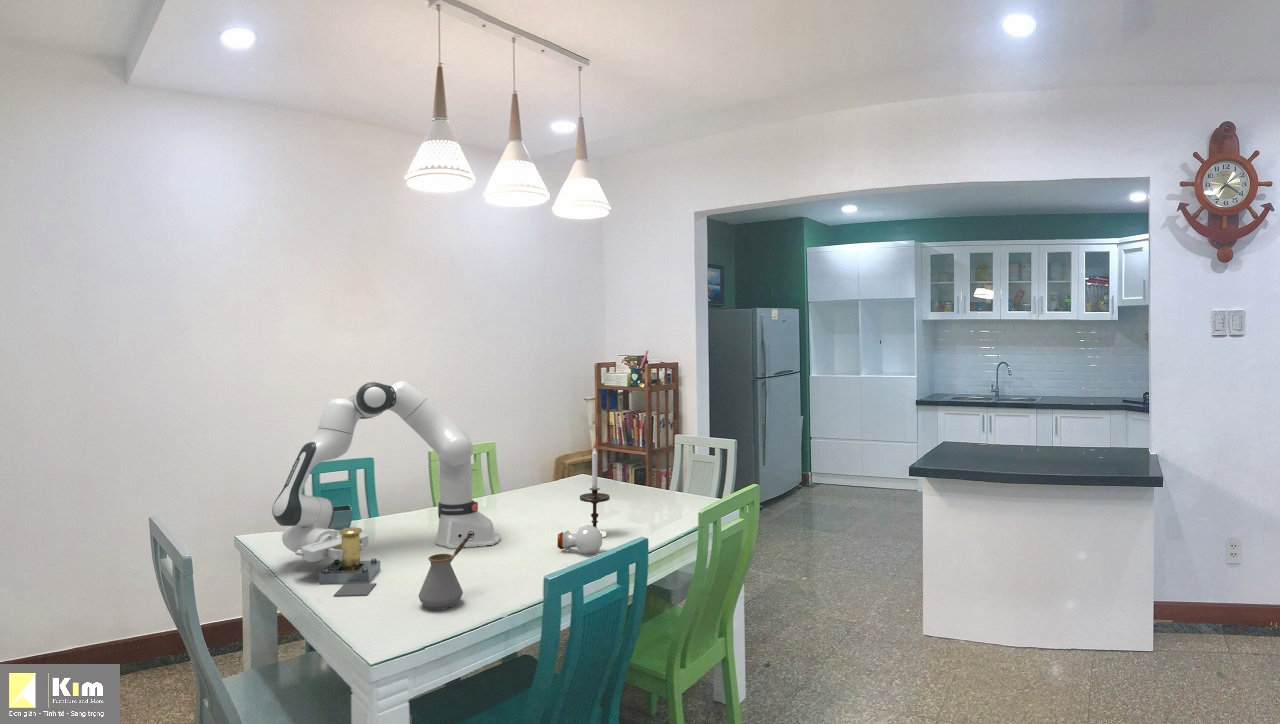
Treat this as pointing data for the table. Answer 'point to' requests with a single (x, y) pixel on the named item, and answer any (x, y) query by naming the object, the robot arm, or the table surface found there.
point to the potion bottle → (581, 540)
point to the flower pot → (341, 517)
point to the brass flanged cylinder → (351, 548)
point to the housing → (349, 573)
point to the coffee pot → (441, 581)
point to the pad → (355, 589)
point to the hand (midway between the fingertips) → (352, 550)
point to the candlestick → (594, 490)
